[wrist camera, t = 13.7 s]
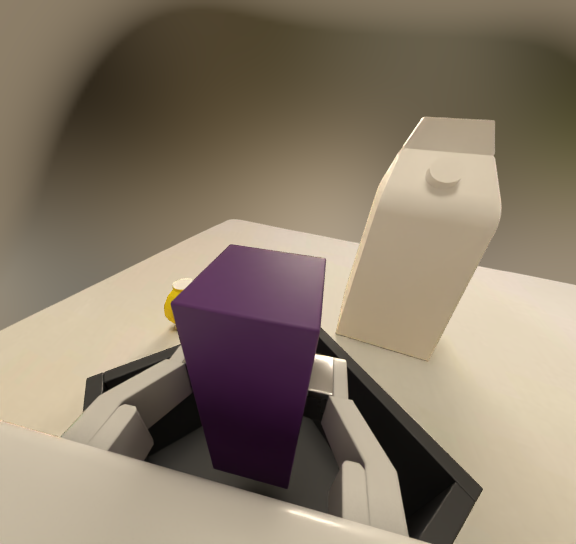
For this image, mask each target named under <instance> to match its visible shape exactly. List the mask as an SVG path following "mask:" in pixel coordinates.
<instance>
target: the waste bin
mask: <svg viewBox="0 0 576 544" xmlns="http://www.w3.org/2000/svg"><path fill="white" fill-rule="evenodd" d="M180 345H181V344H180ZM180 345H177V346H174V347H171V348H169V349H166V350H163V351H161V352H158V353H155V354H152V355H150V356H147V357H144V358H141V359H139V360H136V361H133V362H130V363H128V364H125V365H122V366H119V367H117V368H114V369H111V370H108V371H106V372H104V373H100V374H97V375H95V376H92V377H89V378H87V380H86V389H85V398H84V407H83V412H84V411H85V410H86V409H87V408H88V407H89V406H90V405H91V404H92V403H93V401H94V400H95V399H96V398H97V397H98V396H99V395H101V394H103V393H105V392H107V391H108V390H110V389H112V388H114V387H116V386H118V385H119V384H121V383H123V382H125V381H127V380H128V379H130V378H132V377H134V376H136V375H138V374H139V373H141V372H143V371H145V370H147V369H149V368H150V367H152V366H154V365H156V364H158V363H159V362H161V361H163V360H165V359H168V360H169V359H170V358H171V357H172V355H173V354H174V353H175V351H176V350H177V349H178V347H179V346H180ZM316 354H320V355H325V356H331V357H334V358H339V359H345V360H346V362H347V380H348V399H349V400H353V402H354V404H355V405H356V407H357V409H358V410H359V412H360V413H361V415H362V417H363V418H364V420H365V421H366V423H367V425H368V426H369V428H370V429H371V431H372V433H373V434H374V436H375V438H376V439H377V441H378V442H379V444H380V446H381V447H382V449H383V450H384V452H385V454H386V455H387V457H388V458H389V460H390V462H391V463H392V465H393V467H394V468H395V470H396V471H397V475H398V481H399V486H400V492H401V497H402V502H403V508H404V513H405V519H406V524H407V529H408V535H409V537H410V538H414V539H417V540H421V541H424V542H428V543H431V544H453V542H454V540H455V539H456V537H457V535H458V533H459V531H460V530H461V528H462V526H463V524H464V522H465V521H466V519H467V517H468V515H469V513H470V512H471V510H472V508H473V506H474V504H475V502H476V501H477V499H478V497H479V496H480V494H481V492H482V490H483V488H482V487H481V486H480V485H479V484H478V483H477V482H476V481H475V480H474V479H473V478H472V477H471V476H470V475H469V474H468V473H467V472H466V471H465V470H464V469H463V468H462V467H461V466H460V465H459V464H458V463H457V462H456V461H455V460H454V459H453V458H452V457H451V456H450V455H449V454H448V453H447V452H446V451H445V450H444V449H443V448H442V447H441V446H440V445H439V444H438V443H437V442H436V441H435V440H434V439H433V438H432V437H431V436H430V435H429V434H428V433H427V432H426V431H425V430H424V429H423V428H422V427H421V426H420V425H419V424H417V423H416V422H415V421H414V420H413V419H412V418H411V417H410V416H409V415H408V414H407V413H406V412H405V411H404V410H403V409H402V408H401V407H400V406H399V405H398V404H397V403H396V402H395V401H394V400H393V399H392V398H391V397H390V396H389V395H388V394H387V393H386V392H385V391H384V390H383V389H382V388H381V387H380V386H379V385H378V384H377V383H376V382H375V381H374V380H373V379H372V378H371V377H370V376H369V375H368V374H367V373H366V372H365V371H364V370H363V369H362V368H361V367H360V366H359V365H358V364H357V363H356V362H355V361H354V360H353V359H352V358H351V357H350V356H349V355H348V354H347V353H346V352H345V351H344V350H343V349H342V348H341V347H340V346H339V345H338V344H337V343H336V342H335V341H334V340H333V339H332V338H331V337H330V336H329V335H328V334H327V333H326V332H325V331H324V330H323V329H322V328H321V327H320V334H319V339H318V344H317V349H316ZM148 431H149V433H150V435H151V436H152V438H153V443H154V444H153V446H152V448H151V450H150V451H149V453H148V455H147V456H146V458H145V460H144V461H145V462H148V463H152V464H155V465H159V466H162V467H166V468H169V469H173V470H176V471H180V472H183V473H187V474H190V475H194V476H197V477H201V478H204V479H208V480H211V481H215V482H218V483H221V484H225V485H228V486H232V487H235V488H239V489H242V490H246V491H249V492H253V493H256V494H260V495H263V496H267V497H270V498H274V499H277V500H281V501H284V502H288V503H291V504H295V505H298V506H302V507H305V508H309V509H312V510H316V511H319V512H323V513H326V514H328V492H329V490H330V488H331V486H332V484H333V482H334V480H335V478H336V476H337V474H338V472H339V470H340V469H339V467H338V464H337V462H336V459H335V457H334V454H333V452H332V449H331V447H330V444H329V442H328V439H327V437H326V434H325V432H324V429H323V427H322V424H321V422H320V421H317V420H313V419H309V418H305V417H303V418H302V423H301V428H300V433H299V437H298V442H297V447H296V452H295V457H294V462H293V467H292V472H291V477H290V482H289V487H288V489H284V488H281V487H277V486H273V485H270V484H266V483H263V482H259V481H256V480H252V479H248V478H245V477H241V476H238V475H234V474H230V473H227V472H223V471H220V470H216V469H214V468H213V465H212V462H211V458H210V454H209V450H208V446H207V442H206V439H205V435H204V431H203V427H202V423H201V419H200V416H199V412H198V408H197V404H196V400H195V396H194V393H193V391H192V393H191V394H190V395H189V396H188V397H187V398H185V399H184V400H183V401H182V402H180V403H179V404H178V405H177V406H176V407H174V408H173V409H172V410H171V411H169V412H168V413H167V414H166V415H165V416H163V417H162V418H161V419H160V420H158V421H157V422H156V423H155V424H154V425H152V426H151V427H150V428H149V429H148Z"/></svg>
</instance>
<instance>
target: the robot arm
mask: <svg viewBox="0 0 576 544" xmlns="http://www.w3.org/2000/svg"><path fill="white" fill-rule="evenodd" d="M192 391H193V389H192V385H191V381H190V377H189V373H188V370H187V366H186V362H185V358H184V354H183V350H182V347H181V345H180V346H179V347H178V349H177V350H176V351H175V353H174V354H173V355H172V357H171V358H170V359H169V360H168V359H165V360H163V361H161V362H159V363H158V364H156V365H154V366H152V367H150V368H149V369H147V370H145V371H143V372H141V373H139V374H138V375H136V376H134V377H132V378H130V379H128V380H127V381H125V382H123V383H121V384H119V385H118V386H116V387H114V388H112V389H110V390H108V391H107V392H105V393H103V394H101V395H99V396H98V397H97V398H96V399H95V400H94V401H93V403H92V404H91V405H90V406H89V407H88V408H87V409H86V410H85V411H84V412H83V413H82V414H81V415H80V416H79V417H78V418H77V420H76V421H75V422H74V423H73V424H72V425H71V426H70V427H69V428H68V429H67V430H66V431H65V432H64V433H63V434H62V436H61V437H57V436H54V435H50V434H47V433H43V432H40V431H37V430H33V429H30V428H26V427H23V426H19V425H16V424H12V423H9V422H5V421H2V420H0V544H431V543H428V542H424V541H421V540H417V539H414V538H410V537H409V535H408V529H407V524H406V519H405V513H404V508H403V502H402V497H401V492H400V486H399V481H398V475H397V471H396V470H395V468H394V467H393V465H392V463H391V462H390V460H389V458H388V457H387V455H386V454H385V452H384V450H383V449H382V447H381V446H380V444H379V442H378V441H377V439H376V438H375V436H374V434H373V433H372V431H371V429H370V428H369V426H368V425H367V423H366V421H365V420H364V418H363V417H362V415H361V413H360V412H359V410H358V409H357V407H356V405H355V404H354V402H353V400H349V399H348V380H347V362H346V360H345V359H339V358H334V357H331V356H325V355H320V354H315V359H314V364H313V369H312V374H311V378H310V383H309V388H308V393H307V398H306V403H305V408H304V413H303V417H305V418H309V419H313V420H317V421H320V422H321V424H322V427H323V429H324V432H325V434H326V437H327V439H328V442H329V444H330V447H331V449H332V452H333V454H334V457H335V459H336V462H337V464H338V467H339V469H340V470H339V472H338V474H337V476H336V478H335V480H334V482H333V484H332V486H331V488H330V490H329V492H328V514H326V513H323V512H319V511H316V510H312V509H309V508H305V507H302V506H298V505H295V504H291V503H288V502H284V501H281V500H277V499H274V498H270V497H267V496H263V495H260V494H256V493H253V492H249V491H246V490H242V489H239V488H235V487H232V486H228V485H225V484H221V483H218V482H215V481H211V480H208V479H204V478H201V477H197V476H194V475H190V474H187V473H183V472H180V471H176V470H173V469H169V468H166V467H162V466H159V465H155V464H152V463H148V462H145V461H144V460H145V458H146V456H147V455H148V453H149V451H150V450H151V448H152V446H153V444H154V443H153V438H152V436H151V435H150V433H149V431H148V429H149V428H150V427H151V426H152V425H154V424H155V423H156V422H157V421H158V420H160V419H161V418H162V417H163V416H165V415H166V414H167V413H168V412H169V411H171V410H172V409H173V408H174V407H176V406H177V405H178V404H179V403H180V402H182V401H183V400H184V399H185V398H187V397H188V396H189V395H190V394H191V393H192Z"/></svg>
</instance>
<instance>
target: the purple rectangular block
mask: <svg viewBox="0 0 576 544" xmlns="http://www.w3.org/2000/svg"><path fill="white" fill-rule="evenodd" d="M325 267H326V259H325V258H321V257H314V256H307V255H300V254H294V253H287V252H280V251H273V250H266V249H259V248H253V247H246V246H239V245H232V244H231V245H229V246H228V247H227V248H226V249H225V250H224V251H223V252H222V253H221V254H220V255H219V256H218V257H217V258H216V259H215V260H214V261H213V262H212V263H211V264H210V265H209V266H208V267H207V268H205V269H204V270H203V271H202V272H201V273H200V274H199V275H198V276H197V277H196V278H195V279H194V280H193V281H192V282H191V283H190V284H189V285H188V286H187V287H186V288H185V289H184V290H183V291H182V292H181V293H180V294H179V295H178V296H177V297H176V298H175V299H174V300H172V301H171V308H172V312H173V316H174V320H175V324H176V327H177V331H178V335H179V339H180V343H181V347H182V350H183V354H184V358H185V362H186V366H187V370H188V373H189V377H190V381H191V385H192V389H193V393H194V396H195V400H196V404H197V408H198V412H199V416H200V419H201V423H202V427H203V431H204V435H205V439H206V442H207V446H208V450H209V454H210V458H211V462H212V465H213V468H214V469H216V470H220V471H223V472H227V473H230V474H234V475H238V476H241V477H245V478H248V479H252V480H256V481H259V482H263V483H266V484H270V485H273V486H277V487H281V488H284V489H288V487H289V482H290V477H291V472H292V467H293V462H294V457H295V452H296V447H297V442H298V437H299V433H300V428H301V423H302V418H303V413H304V408H305V403H306V398H307V393H308V388H309V383H310V378H311V374H312V369H313V364H314V359H315V354H316V349H317V344H318V339H319V334H320V327H321V315H322V303H323V291H324V279H325Z"/></svg>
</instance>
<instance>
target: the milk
mask: <svg viewBox="0 0 576 544" xmlns="http://www.w3.org/2000/svg"><path fill="white" fill-rule="evenodd" d="M494 153H495V120H477V119H457V118H439V117H423V118H422V119H421V121H420V122H419V124H418V125H417V126H416V128H415V129H414V131H413V132H412V134H411V135H410V136H409V138H408V139H407V141H406V142H405V144H404V145H403V148H402V149H401V150H400V151H399V153H398V154H397V156H396V157H395V159H394V161H393V162H392V164H391V165H390V167H389V169H388V170H387V172H386V174H385V175H384V177H383V179H382V180H381V182H380V184H379V187H378V189H377V192H376V195H375V198H374V201H373V204H372V207H371V210H370V213H369V217H368V220H367V223H366V226H365V229H364V232H363V236H362V238H361V242H360V245H359V248H358V251H357V254H356V257H355V260H354V264H353V267H352V270H351V273H350V276H349V279H348V282H347V285H346V289H345V292H344V297H343V302H342V306H341V311H340V316H339V320H338V325H337V330H336V334H339V335H342V336H345V337H349V338H352V339H355V340H359V341H362V342H365V343H369V344H372V345H375V346H379V347H382V348H385V349H389V350H392V351H395V352H399V353H402V354H405V355H409V356H412V357H415V358H419V359H422V360H425V361H429V359H430V357H431V355H432V353H433V351H434V349H435V347H436V345H437V343H438V341H439V339H440V337H441V335H442V334H443V332H444V330H445V328H446V326H447V324H448V322H449V320H450V318H451V316H452V314H453V312H454V310H455V309H456V307H457V305H458V303H459V301H460V299H461V297H462V295H463V293H464V291H465V289H466V287H467V285H468V283H469V282H470V280H471V278H472V276H473V274H474V272H475V270H476V268H477V266H478V264H479V262H480V260H481V258H482V256H483V255H484V253H485V251H486V249H487V247H488V245H489V243H490V241H491V239H492V237H493V235H494V233H495V231H496V229H497V227H498V224H499V221H500V216H501V197H500V191H499V184H498V176H497V170H496V163H495V157H494V156H493V155H494Z"/></svg>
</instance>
